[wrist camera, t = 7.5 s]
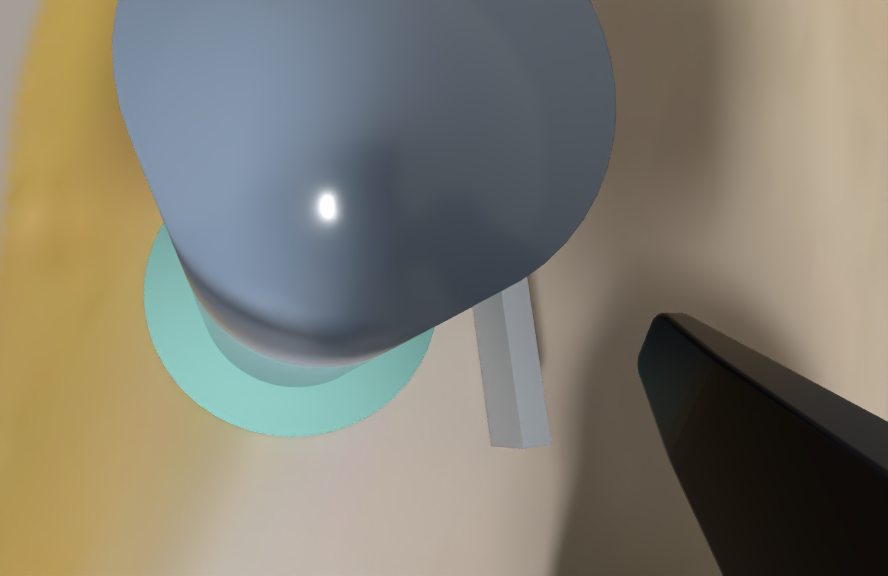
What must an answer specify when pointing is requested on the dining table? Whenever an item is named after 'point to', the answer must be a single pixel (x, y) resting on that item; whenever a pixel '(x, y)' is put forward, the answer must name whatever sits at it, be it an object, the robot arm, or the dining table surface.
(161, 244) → the coaster
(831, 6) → the dining table surface
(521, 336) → the acrylic wall
